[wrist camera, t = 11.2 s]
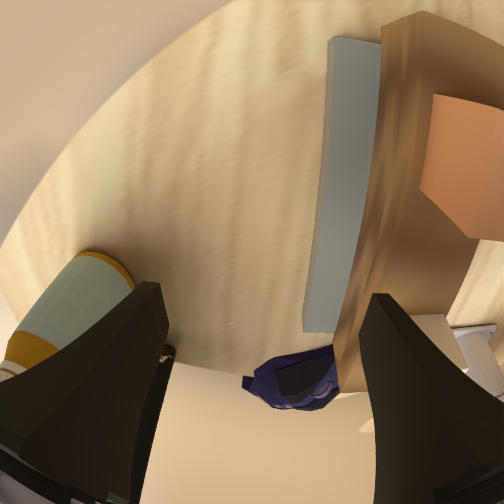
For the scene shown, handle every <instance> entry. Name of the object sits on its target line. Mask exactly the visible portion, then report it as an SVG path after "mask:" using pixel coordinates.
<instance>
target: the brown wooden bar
mask: <svg viewBox="0 0 504 504" xmlns="http://www.w3.org/2000/svg"><path fill="white" fill-rule="evenodd" d="M434 94H438V95H444V96H449V97H454V98H458V99H463V100H467V101H472V102H476V103H480V104H484V105H487V106H491V107H495V108H498V109H500V110H503V111H504V47H503V46H501V45H500V44H498V43H496V42H494V41H492V40H490V39H488V38H486V37H485V36H483V35H481V34H479V33H476V32H474V31H472V30H470V29H468V28H466V27H464V26H461V25H459V24H457V23H454V22H452V21H450V20H447V19H445V18H442V17H439V16H437V15H434V14H431V13H429V12H426V11H420V12H417V13H415V14H412V15H410V16H407V17H404V18H402V19H400V20H397V21H395V22H392V23H390V24H388V25H385V26H383V27H381V62H380V82H379V96H378V108H377V119H376V129H375V138H374V146H373V154H372V161H371V168H370V175H369V182H368V188H367V194H366V200H365V206H364V211H363V217H362V222H361V227H360V232H359V237H358V242H357V247H356V251H355V256H354V260H353V265H352V269H351V273H350V278H349V282H348V286H347V290H346V294H345V298H344V301H343V305H342V309H341V313H340V316H339V320H338V323H337V327H336V330H335V334H334V337H333V347H334V354H335V361H336V368H337V375H338V383H339V391H340V393H352V392H368V388H367V384H366V379H365V375H364V370H363V366H362V361H361V354H360V345H359V336H358V334H359V331H360V328H361V326H362V323H363V320H364V317H365V314H366V311H367V308H368V305H369V302H370V299H371V296H372V293H389V294H390V295H391V296H392V297H393V298H394V300H395V301H396V302H397V303H398V304H399V305H400V306H401V307H402V308H403V309H404V311H405V312H406V313H407V314H408V315H432V314H444V316H445V318H446V316H447V314H448V312H449V310H450V308H451V306H452V304H453V302H454V300H455V298H456V296H457V294H458V292H459V289H460V287H461V285H462V283H463V281H464V278H465V276H466V274H467V271H468V269H469V266H470V264H471V262H472V259H473V257H474V254H475V251H476V249H477V246H478V243H479V241H480V239H476V238H468V237H467V236H466V235H465V234H464V233H463V231H462V230H461V229H460V228H459V227H458V226H457V225H456V224H455V223H454V222H453V221H452V220H451V219H450V218H449V217H448V216H447V215H446V214H445V213H444V212H443V211H442V210H441V209H440V208H439V207H438V206H437V205H436V204H435V203H434V202H433V201H432V200H430V199H429V198H428V197H427V196H426V195H425V194H424V193H423V192H422V191H421V190H420V189H419V186H420V181H421V176H422V171H423V166H424V161H425V155H426V149H427V143H428V136H429V129H430V122H431V114H432V105H433V95H434Z"/></svg>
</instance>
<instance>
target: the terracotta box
mask: <svg viewBox="0 0 504 504" xmlns="http://www.w3.org/2000/svg"><path fill="white" fill-rule="evenodd" d="M419 189H420V190H421V191H422V192H423V193H424V194H425V195H426V196H427V197H428V198H429V199H430V200H432V201H433V202H434V203H435V204H436V205H437V206H438V207H439V208H440V209H441V210H442V211H443V212H444V213H445V214H446V215H447V216H448V217H449V218H450V219H451V220H452V221H453V222H454V223H455V224H456V225H457V226H458V227H459V228H460V229H461V230H462V231H463V233H464V234H465V235H466V236H467V237H468V238H476V239H485V240H494V241H502V242H504V111H503V110H500V109H498V108H495V107H491V106H487V105H484V104H480V103H476V102H472V101H467V100H463V99H458V98H454V97H449V96H444V95H438V94H434V95H433V105H432V114H431V122H430V129H429V136H428V143H427V149H426V155H425V161H424V166H423V171H422V176H421V181H420V186H419Z"/></svg>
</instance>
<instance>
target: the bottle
mask: <svg viewBox="0 0 504 504" xmlns="http://www.w3.org/2000/svg"><path fill="white" fill-rule="evenodd" d="M134 289H135V285H134V283H133V281H132V279H131V277H130V276H129V274H128V272H127V271H126V270H125V269H124V268H123V267H122V266H121V265H120V264H119V263H118V262H117V261H115V260H114V259H112V258H111V257H109V256H106V255H104V254H101V253H96V252H83V253H80V254H77V255H76V256H75V257H74V258H73V259H72V260H71V261H70V262H69V263H68V264H67V265H66V266H65V268H64V269H63V270H62V271H61V272H60V273H59V275H58V276H57V277H56V278H55V279H54V281H53V282H52V283H51V284H50V285H49V287H48V288H47V289H46V290H45V292H44V293H43V294H42V295H41V297H40V298H39V299H38V300H37V302H36V303H35V304H34V306H33V307H32V308H31V310H30V311H29V312H28V314H27V315H26V316H25V318H24V319H23V320H22V322H21V323H20V324H19V326H18V327H17V329H16V330H15V331H14V333H13V334H12V336H11V338H10V339H9V341H8V345H7V349H6V353H5V358H4V361H2V363H1V364H0V382H1V381H4V380H6V379H9V378H11V377H13V376H15V375H17V374H20V373H22V372H24V371H26V370H28V369H30V368H31V367H33V366H35V365H37V364H38V363H40V362H42V361H43V360H45V359H47V358H48V357H50V356H52V355H53V354H55V353H57V352H58V351H60V350H61V349H62V348H64V347H65V346H67V345H68V344H70V343H71V342H72V341H74V340H75V339H76V338H78V337H79V336H80V335H82V334H83V333H84V332H85V331H87V330H88V329H89V328H90V327H91V326H93V325H94V324H95V323H96V322H98V321H99V320H100V319H101V318H102V317H104V316H105V315H106V314H107V313H108V312H109V311H110V310H111V309H113V308H114V307H115V306H116V305H117V304H118V303H119V302H121V301H122V300H123V299H124V298H125V297H126V296H127V295H128V294H130V293H131V292H132V291H133V290H134Z"/></svg>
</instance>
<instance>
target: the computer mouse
mask: <svg viewBox="0 0 504 504" xmlns="http://www.w3.org/2000/svg"><path fill="white" fill-rule="evenodd" d="M254 376H255V377H251V376H244V375H243V378H242V388H243V389H245V390H246V391H248V392H249V393H251V394H253V395H255V396H256V397H258V398H260V399H261V400H263V401H264V402H266V403H267V404H268V405H269V406H271V407H272V408H277V409H281V410H282V409H296V410H304V411H313V410H317V409H321V408H324V407H325V406H326V405H327V404H328V403H329V402H330V401H331V400H333V399H334V398H335V397H336V396H337V395H338V394H339V393H340V391H339V383H338V375H337V368H336V361H335V354H334V347H333V344H332V345H329V346H326V347H323V348H319V349H315V350H311V351H306V352H301V353H296V354H290V355H285V356H279V357H274V358H272V359H270V360H268V361H267V362H265V363H264V364H263V365H261V366H260V367H259V368H257V369H256V370H254Z"/></svg>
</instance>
